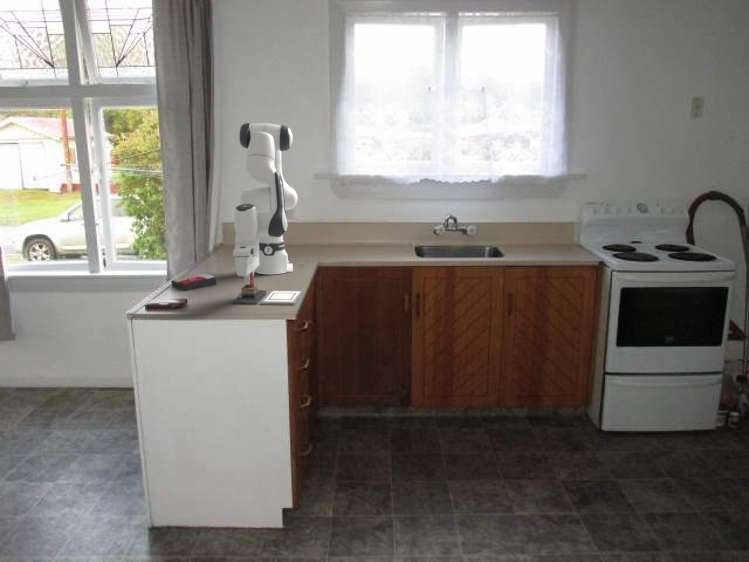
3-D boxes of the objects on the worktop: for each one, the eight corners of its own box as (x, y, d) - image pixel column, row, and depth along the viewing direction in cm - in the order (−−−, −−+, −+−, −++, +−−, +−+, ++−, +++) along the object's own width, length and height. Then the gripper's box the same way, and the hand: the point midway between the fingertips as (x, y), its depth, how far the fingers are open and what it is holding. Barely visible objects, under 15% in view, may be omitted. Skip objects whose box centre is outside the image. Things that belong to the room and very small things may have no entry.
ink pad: (243, 294, 246) (243, 289, 245) (266, 294, 245) (265, 289, 245) (233, 303, 232) (233, 298, 232) (257, 303, 232) (256, 298, 231)
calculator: (170, 279, 258) (202, 271, 268) (172, 289, 259) (203, 281, 269) (184, 283, 251) (216, 275, 261) (185, 293, 252) (217, 285, 262)
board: (271, 292, 248) (271, 290, 248) (303, 292, 247) (303, 290, 247) (260, 304, 231) (260, 301, 230) (294, 304, 230) (294, 302, 230)
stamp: (246, 291, 241) (244, 268, 239) (258, 291, 241) (257, 269, 239) (241, 295, 236) (240, 272, 233) (254, 295, 235) (253, 272, 233)
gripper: (246, 242, 244) (248, 276, 248) (231, 252, 225) (233, 289, 228) (262, 242, 244) (264, 276, 247) (248, 252, 224) (250, 289, 227)
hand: (249, 282), depth 237 cm, fingers closed on stamp, 3 cm apart
